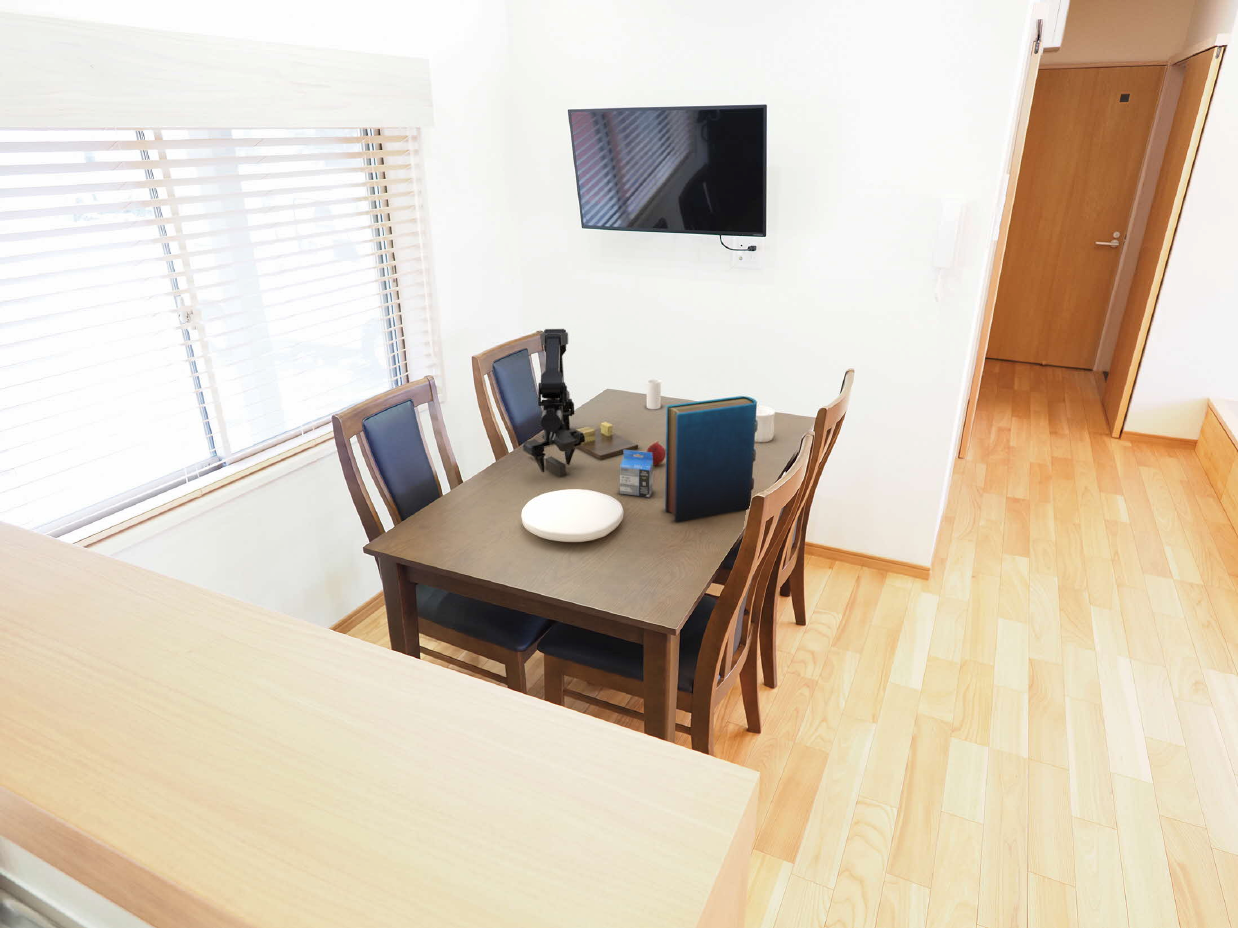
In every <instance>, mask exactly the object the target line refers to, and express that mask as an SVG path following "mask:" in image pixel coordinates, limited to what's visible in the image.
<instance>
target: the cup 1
mask: <svg viewBox="0 0 1238 928" xmlns="http://www.w3.org/2000/svg"><path fill="white" fill-rule="evenodd" d="M661 387H662V381H661V379H657V378H651V379H647V380H646V408H647V409H648V410H659V409H661V403H662V402H661V400H662V399H661V397H662V395H661V394H662V393H661V391H662V389H661Z"/></svg>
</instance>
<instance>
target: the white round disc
mask: <svg viewBox="0 0 1238 928" xmlns="http://www.w3.org/2000/svg"><path fill="white" fill-rule="evenodd" d="M624 513H625V512H624V508H623V506H622V504H621V503H620V501H619V500H617V499H616V498H614V497H613V496H611V495H609V494H605V493H603V492H599V491H595V490H590V489H579V488H573V489H571V488H569V489H560V490H554V491H549V492H545V493H542V494H540V495H537V496H536V497H533V498H532V499H530V500H529V501H528V502H527V503H526V504H525V506H524V507H523V508H522V511H521V513H520V514H521V515H520V517H521V522H522V525H523V527H524V528H525V530H527V531H528V532H530V533H531V534H533V535H535V536H537V537H539V538H542V539H546V540H549V541H555V542H566V543H583V542H588V541H589V542H590V541H595V540H598V539H600V538H604V537H606V536H607V535H608V534H610V533H611V532H613V531H614V530H616V529H617V528H618V527H619V526H620V524H621V522H622V521H623V519H624Z"/></svg>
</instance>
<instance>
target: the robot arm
mask: <svg viewBox="0 0 1238 928" xmlns="http://www.w3.org/2000/svg"><path fill="white" fill-rule="evenodd" d="M567 345H569V332H568V331H567V330H566V329H565V328H545V329H544V330H543V332H540V346H543V352H544V353H545V367H544V369H545V370H544V371H543V372H542V373H541V374H540V382H538V385H537V386H538V388H537V391H538V392H537V393H538V395H537V397H538V399H537V401H538V402H537V403H538V407H542V410H543V411H542V414H541V419H540V425H541V427H542V429H543V432H544V433H543V434H542V435H541V437H542V439H543V441H538V439H529V440H526V441H524V442H523V444H522V451H523V452H525V453H527V454H528V455H530V456H531V455H532V456H533V457H534V458H535V460H534V461H535V463H536V464H537V466H538V468H539V470H540V471H541V473H545V465H544V456H545V457H546V453H544V452H545V448H549V447H552V446H556V448H558V450H559V451H560V452H564V457H565V462H566V466H570V465H571V461H572V459H573V455H574V453H575V451H576V449H578V448H577V447H578V446H580V445H581V443H583V442H585V435H584V434H583V433H582V432H580V431H578V430H577V429H576V428H573V429H572V428H571V422H570V417H573V416H574V415H575V403H574V402H573V398H571V395H570V394H571V393H570V391H569V390H568V385H566V384H567V383H566V382H565V373H564V372H565V371H564V357H563V356H564V354H566V352H567ZM532 456H531V457H532Z"/></svg>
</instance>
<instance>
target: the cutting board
mask: <svg viewBox="0 0 1238 928" xmlns="http://www.w3.org/2000/svg"><path fill="white" fill-rule="evenodd" d="M576 430H578V431H580V432H582V433H583V434H584V435H585V442H583V443H581V445H580V446H578V447H577V448H576V449H578V450H581V451H582V452H584V453H586V454H588V455H590V456H592V457H594V458H596V459H597V460H600V461H603V460H605V459H609V458H613V457H615V456H619V455H622V454H624V452H623V450H632V451H637V450H638V449H639V444H638V443H635V442H633V441H632V440H629V439H627V438H625V437H623V436H621V435H619V434H617V433H614V432H613V435H611V436H606V435H604V434H602V433H601V427H598V428H595V429H594V428H592V427H590V426H585V427H582V428H577V429H576Z"/></svg>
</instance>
